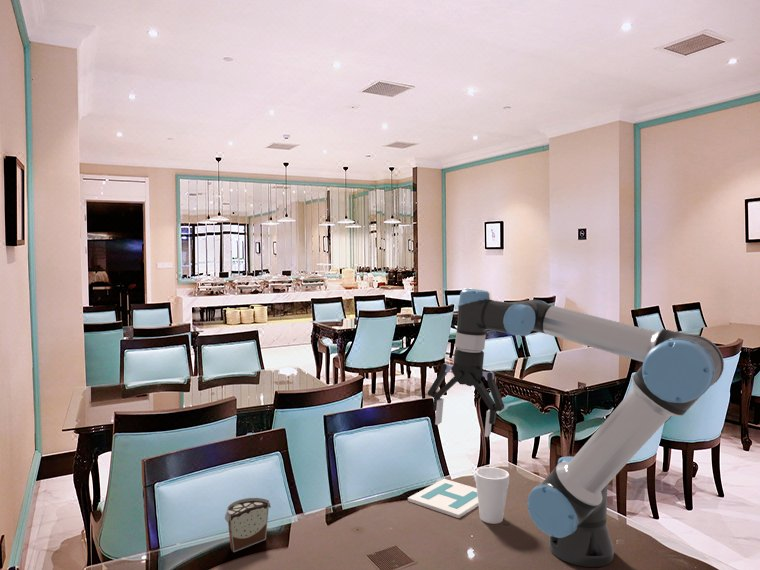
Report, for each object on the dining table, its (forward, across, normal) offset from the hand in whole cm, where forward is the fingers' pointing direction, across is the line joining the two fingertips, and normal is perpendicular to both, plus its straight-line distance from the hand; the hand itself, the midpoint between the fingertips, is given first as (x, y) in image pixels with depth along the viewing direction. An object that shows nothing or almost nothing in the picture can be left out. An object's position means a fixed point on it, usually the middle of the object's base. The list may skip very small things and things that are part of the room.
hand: (462, 429), depth 145 cm
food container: (+32, +45, +30) cm, 63 cm away
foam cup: (+29, -6, -14) cm, 33 cm away
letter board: (+30, +9, -21) cm, 38 cm away
